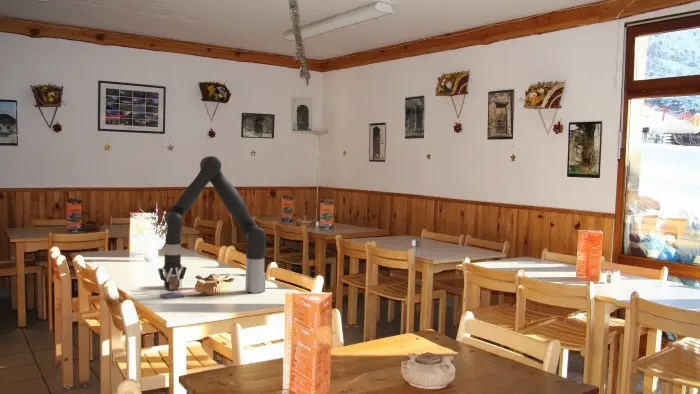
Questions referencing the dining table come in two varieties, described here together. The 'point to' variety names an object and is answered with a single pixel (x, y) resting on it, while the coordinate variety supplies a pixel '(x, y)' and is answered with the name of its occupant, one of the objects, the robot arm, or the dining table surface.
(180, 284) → the can
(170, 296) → the ink pad
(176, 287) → the stamp
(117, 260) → the dining table surface
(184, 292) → the print board
